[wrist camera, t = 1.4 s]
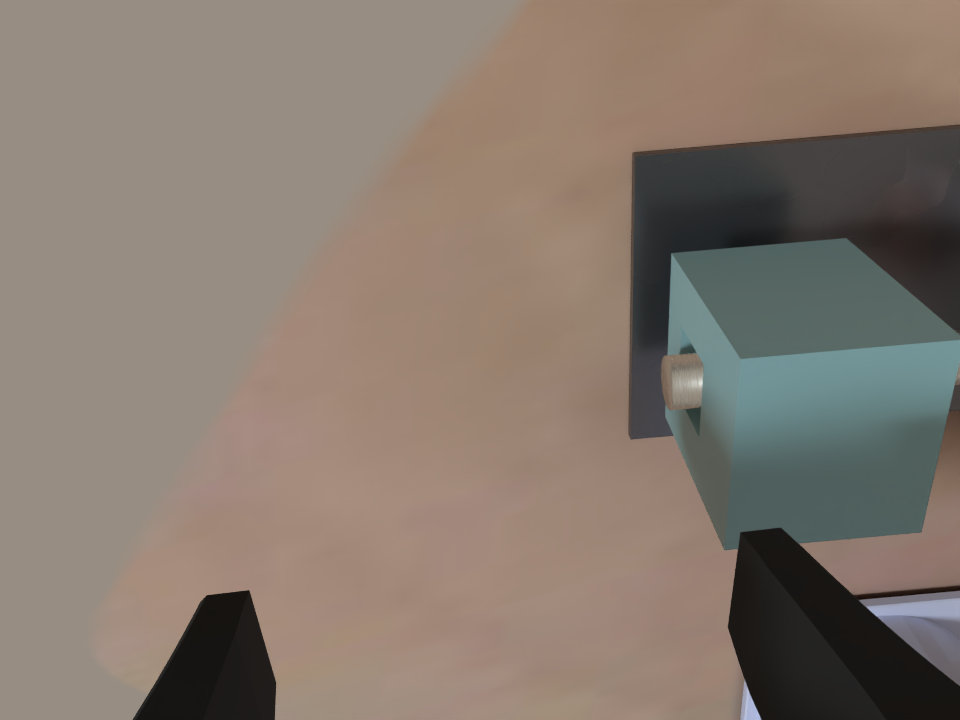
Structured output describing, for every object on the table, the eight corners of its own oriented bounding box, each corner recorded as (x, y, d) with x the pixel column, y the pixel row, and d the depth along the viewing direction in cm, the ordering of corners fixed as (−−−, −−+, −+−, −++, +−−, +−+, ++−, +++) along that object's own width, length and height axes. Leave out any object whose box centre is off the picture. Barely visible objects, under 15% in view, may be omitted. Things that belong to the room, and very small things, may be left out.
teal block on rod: (823, 402, 22) (921, 532, 18) (665, 416, 22) (724, 549, 18) (846, 238, 20) (964, 339, 15) (671, 253, 20) (740, 358, 15)
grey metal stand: (1015, 399, 25) (1157, 525, 20) (628, 433, 24) (677, 568, 20) (1091, 113, 21) (1291, 184, 16) (632, 152, 21) (694, 235, 16)
